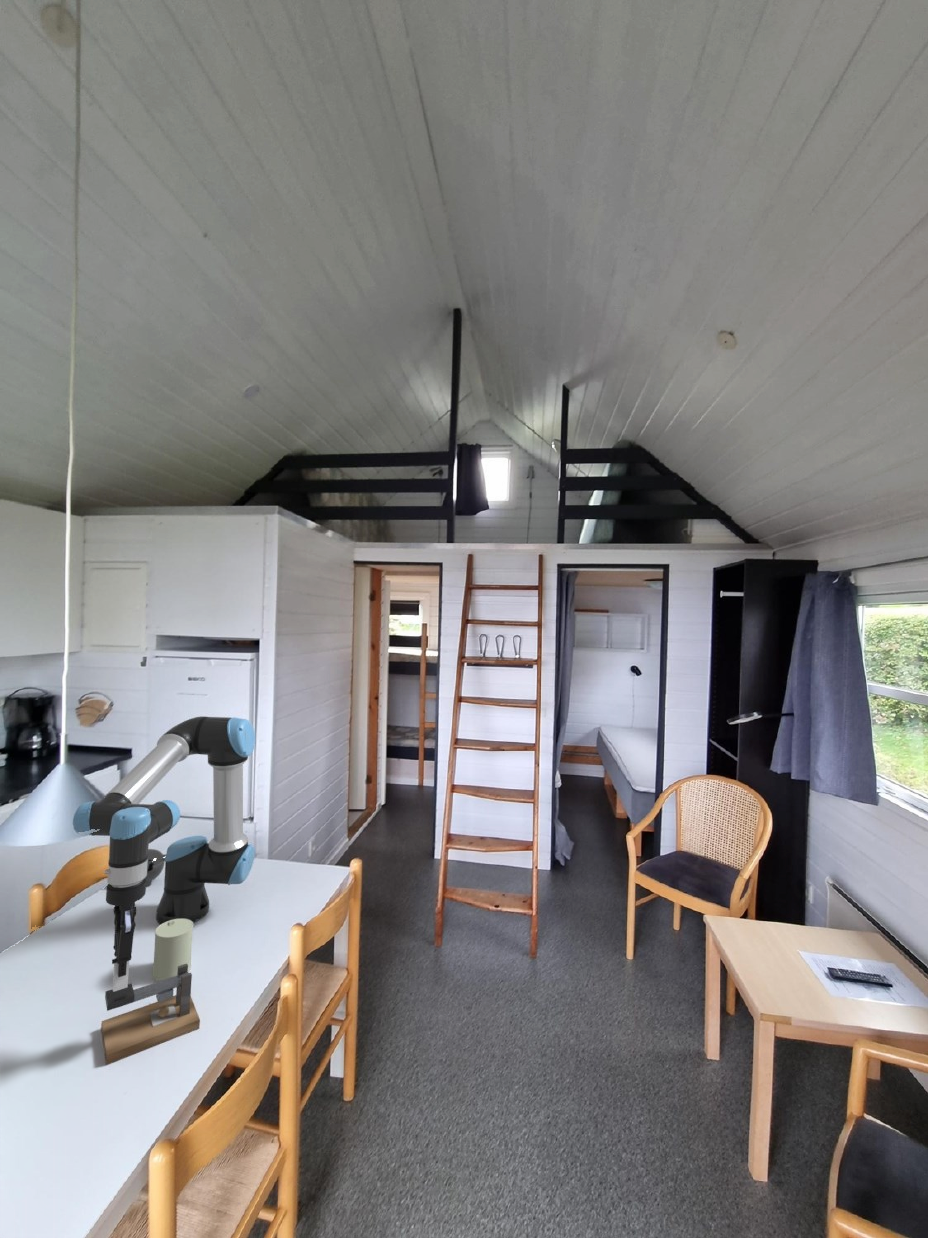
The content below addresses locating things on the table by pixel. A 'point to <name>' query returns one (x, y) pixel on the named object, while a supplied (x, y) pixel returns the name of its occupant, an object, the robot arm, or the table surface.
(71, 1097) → the table surface
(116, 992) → the lever
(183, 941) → the can
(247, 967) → the table surface
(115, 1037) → the base
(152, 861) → the piggy bank
